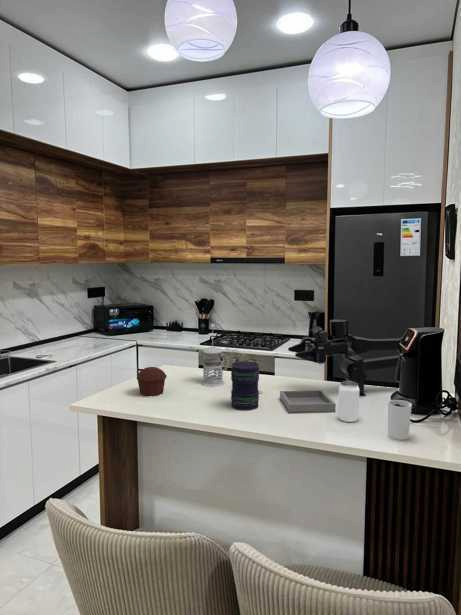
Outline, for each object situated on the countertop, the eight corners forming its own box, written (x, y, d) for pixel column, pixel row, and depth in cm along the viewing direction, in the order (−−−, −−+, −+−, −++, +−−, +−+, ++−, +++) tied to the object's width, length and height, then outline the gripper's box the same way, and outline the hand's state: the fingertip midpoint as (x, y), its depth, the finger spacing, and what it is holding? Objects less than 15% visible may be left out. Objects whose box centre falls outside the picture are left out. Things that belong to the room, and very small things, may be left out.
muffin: (130, 394, 178) (129, 368, 177) (150, 387, 187) (150, 363, 186) (153, 399, 171) (153, 373, 170) (173, 392, 180) (172, 367, 179)
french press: (199, 380, 197) (198, 322, 194) (225, 379, 199) (225, 321, 196) (203, 387, 187) (202, 326, 184) (231, 385, 190) (231, 325, 187)
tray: (322, 397, 174) (322, 389, 174) (335, 412, 158) (335, 403, 158) (279, 398, 172) (280, 390, 172) (289, 413, 157) (289, 404, 156)
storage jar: (263, 404, 166) (263, 363, 165) (251, 412, 158) (251, 369, 156) (238, 400, 171) (238, 360, 169) (225, 407, 162) (226, 366, 161)
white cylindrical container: (381, 435, 138) (383, 402, 137) (394, 430, 142) (396, 398, 141) (401, 442, 133) (403, 408, 132) (414, 436, 137) (416, 404, 136)
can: (347, 424, 147) (348, 387, 146) (333, 417, 153) (334, 382, 151) (362, 420, 150) (363, 384, 149) (348, 414, 156) (350, 379, 154)
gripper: (322, 322, 183) (283, 326, 181) (340, 331, 165) (298, 336, 163) (323, 349, 185) (285, 354, 183) (341, 361, 167) (299, 366, 165)
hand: (291, 352), depth 173 cm, fingers open, 9 cm apart
